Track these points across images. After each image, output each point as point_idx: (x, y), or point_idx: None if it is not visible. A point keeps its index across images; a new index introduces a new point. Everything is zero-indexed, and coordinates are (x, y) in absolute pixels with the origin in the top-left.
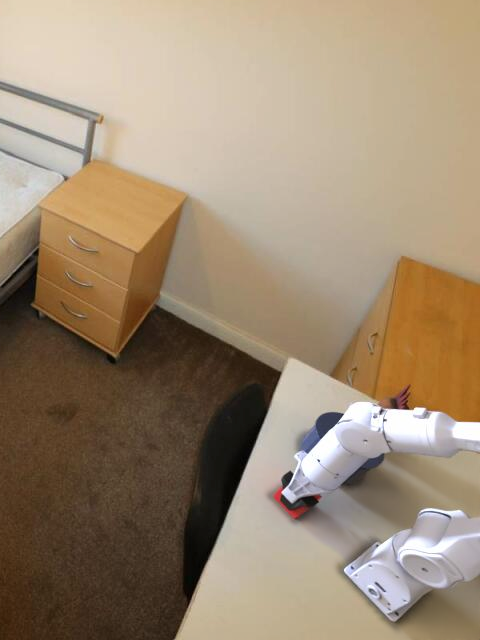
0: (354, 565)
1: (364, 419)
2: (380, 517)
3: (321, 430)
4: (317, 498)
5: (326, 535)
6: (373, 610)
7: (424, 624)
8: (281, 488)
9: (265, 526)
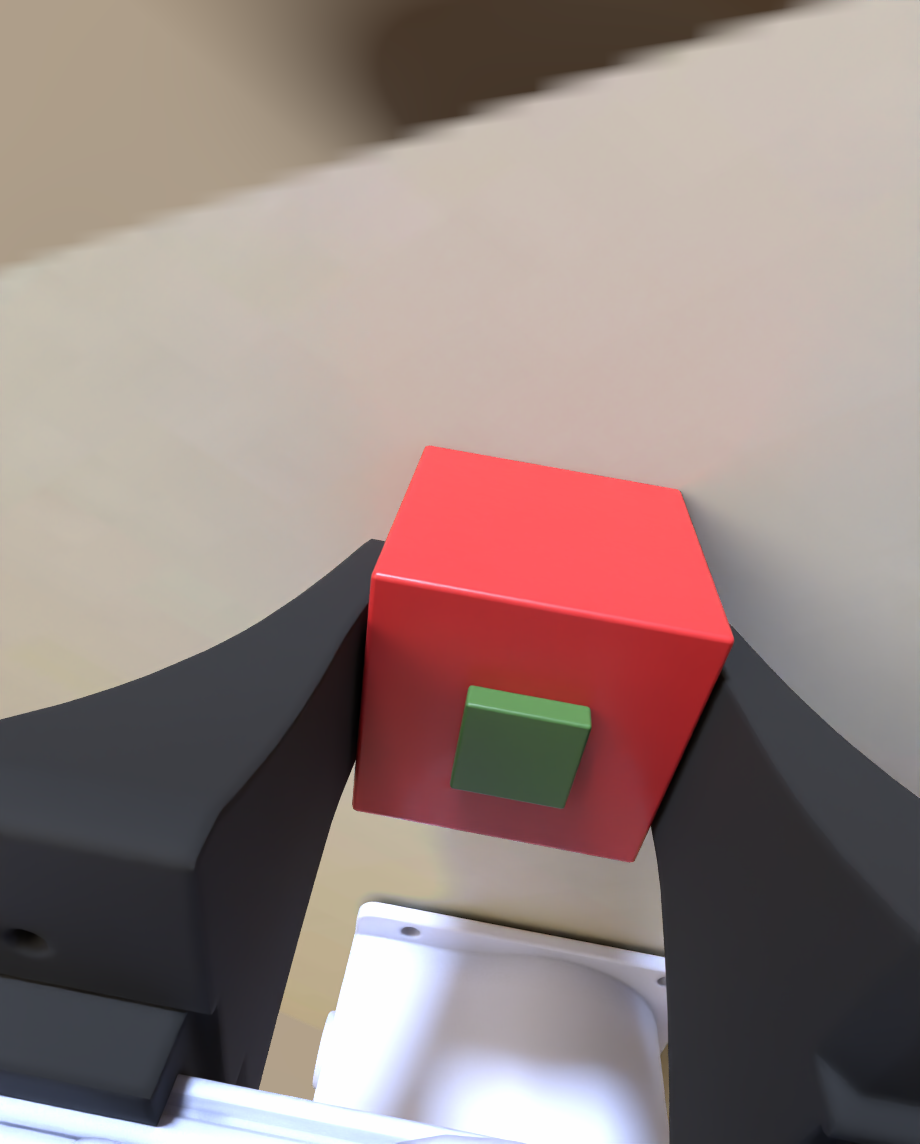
0: (434, 934)
1: None
2: None
3: None
4: (569, 845)
5: None
6: (326, 987)
7: None
8: (386, 548)
9: (132, 530)
